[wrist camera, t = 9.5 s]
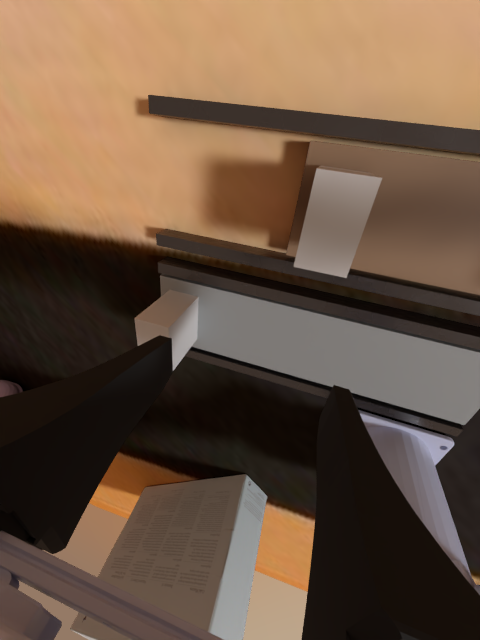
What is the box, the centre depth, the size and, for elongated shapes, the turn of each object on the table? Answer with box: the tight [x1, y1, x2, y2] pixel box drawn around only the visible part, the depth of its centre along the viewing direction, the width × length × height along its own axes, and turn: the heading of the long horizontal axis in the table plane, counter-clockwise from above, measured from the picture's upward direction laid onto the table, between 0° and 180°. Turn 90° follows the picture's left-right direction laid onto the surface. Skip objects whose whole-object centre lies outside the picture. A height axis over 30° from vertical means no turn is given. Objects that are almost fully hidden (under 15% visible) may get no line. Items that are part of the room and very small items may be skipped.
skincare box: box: [70, 474, 267, 640], centre depth 32 cm, size 21×5×16 cm, turn 126°
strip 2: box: [135, 274, 480, 425], centre depth 18 cm, size 6×24×6 cm, turn 83°
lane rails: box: [148, 95, 480, 436], centre depth 18 cm, size 18×24×1 cm
